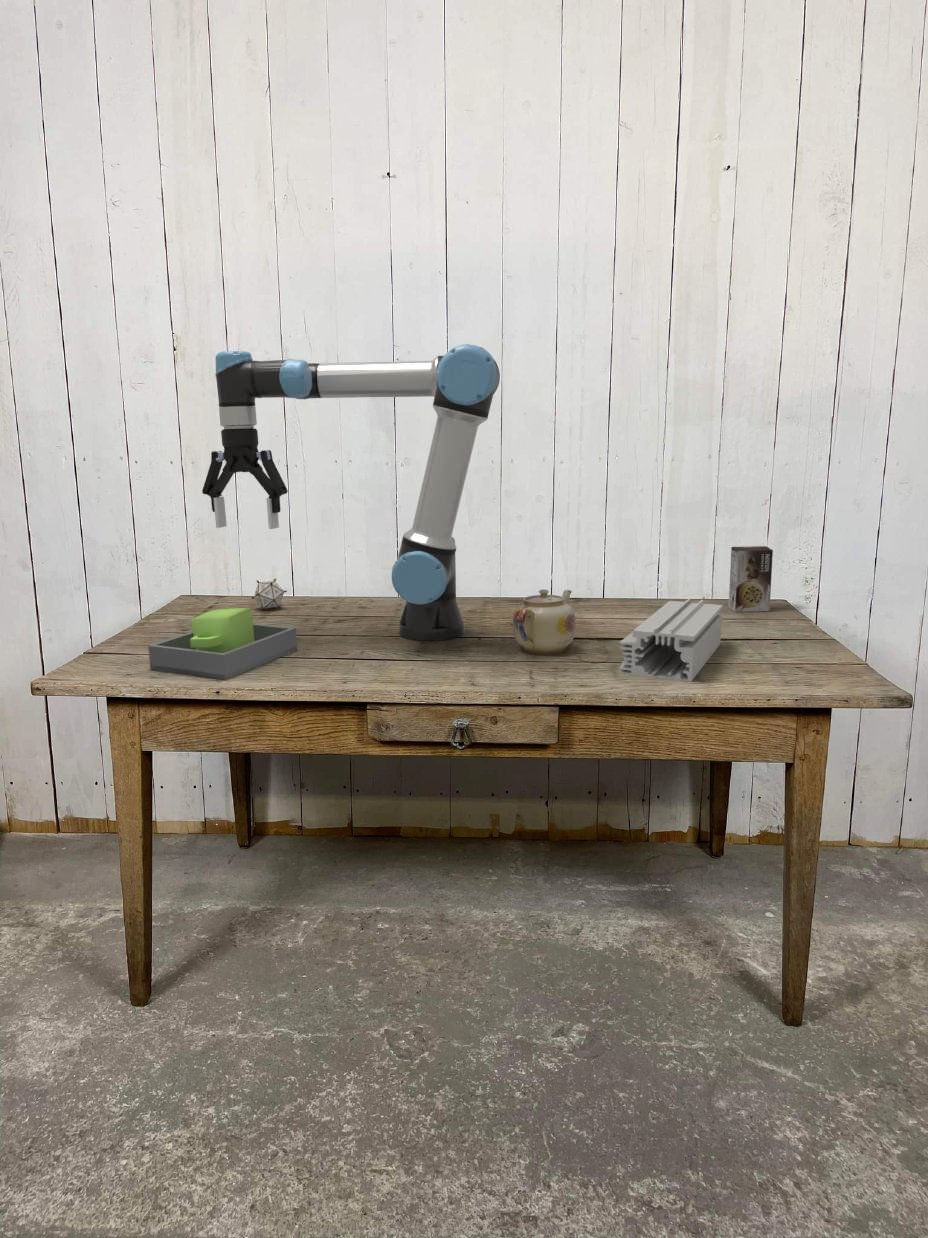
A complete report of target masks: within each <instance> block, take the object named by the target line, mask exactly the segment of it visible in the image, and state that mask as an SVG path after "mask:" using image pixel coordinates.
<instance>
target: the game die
mask: <svg viewBox="0 0 928 1238" xmlns="http://www.w3.org/2000/svg"><path fill="white" fill-rule="evenodd" d="M256 583H257V586H256V590H255V593H254V595H253V596H251V598H250V599H251V600H255V601H256V603H258V605H259V606H260V607H261V612H263V611H264V610H265V609H273V608H278V609H279V610H282V607H281V606H280V605H281V603H282V600H283V596H284V594H285V593H287V592H288V590H286V589H282V587H281V586H280V585H279V584H278V583H277V577H276V578H274V579H273V580H269V581H262V582H261V581H259V580H257V579H256Z"/></svg>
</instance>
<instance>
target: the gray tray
mask: <svg viewBox="0 0 928 1238" xmlns="http://www.w3.org/2000/svg"><path fill="white" fill-rule="evenodd" d="M253 630H254V641H255V642H252V643H249V644H247V645H244V646H241V647H239V648H236V649H233V650H231V651H228V652H225V653H216V652H208V651H200V650H195V648H191V644H190V639H191V638H193V637H194V635H193V630H192V631H190V632H187V633H184V634H181V635H177V636H174V637H171V638H168V639H165V640H162V641H159V642H156V643H153V644H149V645H147V649H148V658H149V669H150V670H151V671H159V672H164V673H172V674H173V673H175V674H181V675H188V676H195V677H200V678H201V677H202V678H210V679H217V680H225V681H226V680H230V679H232V678H234V677H236V676H239V675H241V674H243V673H247V672H248V671H250V670H253V669H256V668H258V667H260V666H262V665H265V664H267V663H270V662H272V661H275V660H277V659H279V658H282V657H285V656H287V655H289V654H291V652H292V653H295V652H296V650H297V651H298V645H297V644H298V642H297V641H298V640H297V629H296V627H290V626H281V625H279V626H277V625H270V624H259V623H253ZM288 653H289V654H288Z"/></svg>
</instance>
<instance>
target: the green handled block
mask: <svg viewBox="0 0 928 1238" xmlns="http://www.w3.org/2000/svg"><path fill="white" fill-rule="evenodd" d="M252 612H253V611H252V608H249V607H236V608H235V607H234V608H218V609H217V608H216V609H212V610H209V611H207V612H204V613H202V614H200V615H198V616H195V617H193V618H191V624H192V631H193V635H194V637H193V638H191V639H190V644H191V648H195V650H200V651H208V652H216V653H225V652H228V651H231V650H233V649H236V648H239V647H241V646H244V645H247V644H249V643H252V642H255V641H254V630H253V624H254V621H253V614H252Z"/></svg>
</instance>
